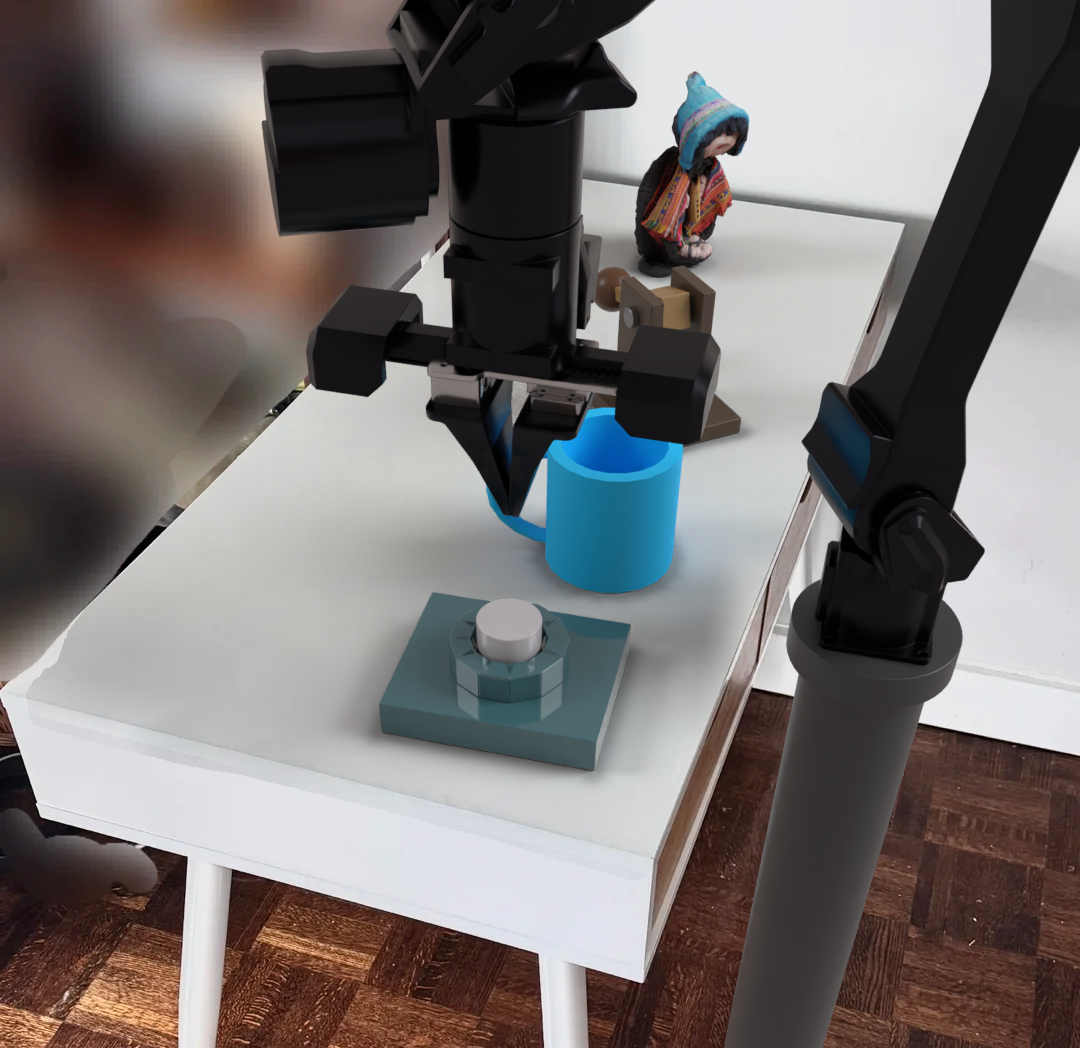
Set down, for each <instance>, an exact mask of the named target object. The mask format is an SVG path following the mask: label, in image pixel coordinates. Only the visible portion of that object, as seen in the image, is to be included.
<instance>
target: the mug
mask: <svg viewBox="0 0 1080 1048" xmlns="http://www.w3.org/2000/svg"><path fill="white" fill-rule="evenodd" d="M614 418H615V408H597V409H596V408H591V409H589V410H588V412H587V414H586V417H585V419H584V421H583V424H582V426H581V428H580V431H579V433H578V435H577V437H576V438H575V439H573V440H569V441H561V440H554V441H553V442H552V444H551V446H550V447H549V449H548V450H547V452H546V454H545V455H544V457H543V459H542V460H545V459H546V499H545V500H546V503H545V506H546V507H545V527H543V526H540V525H538V524H535V523H533V522H530V521H528V520H526V519H524V518H523V517H521V515H519V517H512V516H506V515H503V513H502V511H501V510H500V508H499V506H498V504H497V503H496V501H495V499H494V497H493V496H492V494H491V492H490V491H489V489H488V487H487V485H486V487H485V491H486V496H487V500H488V504H489V508H491V510H492V511H493V512H494V514H495V515H496V517H497V518H498V519H499V521H500V522H502V523H503V524H504V525H505V526H507V527H508V528H509V529H511V530H512V531H513V532H515V533H517V534H518V535H521V536H523V537H525V538H527V539H529V540H532V541H534V542H539V543H543V544H545V554H544V555H545V556H544V558H545V560H546V562H547V564H548V566H549V568H550V571H552V572H553V573H554V574H555V575H557V576H558V577H559V578H560V579H561V580H562V581H564V582H566V583H568V584H570V585H572V586H574V587H576V588H578V589H581V590H586V591H590V592H591V591H592V592H595V593H600V594H622V593H623V594H624V593H628V592H633V591H638V590H639V591H640V590H642V589H644V588H647V587H649V586H651V585H653V584H655V583H657V582H658V581H660V579H661V578H662V577H663V576H665V575H666V574H667V573H668V570H669V568H670V566H671V564H672V562H673V557H674V555H673V554H674V547H675V546H674V545H675V535H676V525H677V517H678V508H679V507H678V506H679V496H680V486H681V477H682V466H683V458H684V457H683V456H684V447H683V444H676V443H669V442H663V441H656V440H649V439H643V438H636V437H630V436H629V435H628V434H627V432H626V431H625V430H624V429H623V428H622V427H621V426H620V425H619V424H618V422H617V421H616V420H615V419H614Z"/></svg>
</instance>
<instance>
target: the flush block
mask: <svg viewBox="0 0 1080 1048" xmlns="http://www.w3.org/2000/svg"><path fill="white" fill-rule="evenodd" d="M492 601H493V600H486V599H478V598H474V597H466V596H461V595H454V594H448V593H443V592H435V591H432V592H431V594H430V596H429V598H428V600H427V601H426V605H425V606H424V608H423V611H422V613H421V615H420V617H419V619H418V621H417V623H416V625H415V627H414V630H413V632H412V633H411V636H410V637H409V639H408V641H407V644H406V646H405V648H404V650H403V653H402V654H401V657H400V659H399V661H398V663H397V664H396V667H395V669H394V671H393V672H392V675H391V678H390V680H389V682H388V684H387V686H386V687H385V690H384V692H383V694H382V697H381V699H380V701H379V703H378V708H379V718H380V729H381V730H380V731H381V733H382V734H383V733H384V734H390V735H395V736H400V737H404V738H405V737H406V738H412V739H417V740H421V741H422V740H423V741H427V742H428V741H429V742H433V743H438V744H439V743H440V744H444V745H449V746H455V747H460V748H466V749H471V750H477V751H483V752H489V753H494V754H500V755H504V756H510V757H516V758H521V759H527V760H532V761H537V762H538V761H539V762H543V763H548V764H549V763H550V764H554V765H555V764H556V765H560V766H565V767H571V768H576V769H582V770H589V771H592V772H593V771H596V767H597V764H598V762H599V761H598V760H599V756H600V755H601V750H602V747H603V743H604V740H605V737H606V733H607V729H608V727H609V722H610V719H611V716H612V713H613V709H614V705H615V702H616V698H617V695H618V692H619V689H620V685H621V681H622V678H623V675H624V671H625V668H626V664H627V662H628V658H629V654H630V649H631V648H630V647H631V634H632V624H631V623H627V622H620V621H615V620H607V619H602V618H596V617H590V616H584V615H578V614H572V613H565V612H559V611H553V610H548V609H547V608H545V607H544V606H542V605H540V604H538V603H531V602H530V603H531V604H532V605H534V606H535V607H536V608H537V609H538V610H539V611H540V613H541V615H542V646H541V649H540V651H539V652H538V653H537V654H536V656H534V657H533V658H531V659H530V660H528V661H524V662H518V663H513V664H506V663H500V662H494V661H491V660H489V659H487V658H485V657H484V656H483V655H482V654H481V653H480V651H479V650H478V648H477V641H476V616H477V614H478V612H479V610H480V609H481V608H482V607H483V606H484V605H486V604H488V603H489V602H492Z"/></svg>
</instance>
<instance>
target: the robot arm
mask: <svg viewBox="0 0 1080 1048" xmlns="http://www.w3.org/2000/svg"><path fill="white" fill-rule="evenodd" d="M654 2H656V0H402V2H401V3H400V5H399V7H398V8H397V10H396V12H395V13H394V15H393V17H392V18H391V20H390V22H389V23H388V25H387V26H386V29H385V37H386V40H387V41H388V44H389V45H390V48H377V49H375V48H374V49H362V50H361V49H359V50H358V49H357V50H343V51H326V52H325V51H324V52H312V51H306V50H303V49H297V48H284V49H283V48H281V49H280V48H279V49H268V50H267V49H266V50H264V51H263V52H262V54H261V55H260V63H261V73H262V79H263V85H262V88H263V91H262V92H263V103H264V114H265V120H264V119H263V121H262V123H261V131H263V132H262V139H263V147H264V155H265V161H266V169H267V176H268V183H269V190H270V196H271V202H272V208H273V213H274V220H275V224H276V231H277V234H278V237H279V238H281V237H291V236H302V235H303V236H305V235H315V234H327V233H339V232H352V231H362V230H363V231H364V230H365V231H366V230H375V229H376V230H377V229H388V228H399V227H412V226H414V225H415V223H416V220H417V219H416V218H421V217H428V216H429V210H430V199H436V198H438V196H439V191H440V155H439V143H438V129H437V128H438V127H437V121H445V127H446V160H447V161H446V162H447V163H446V164H447V188H448V189H447V194H448V195H447V197H448V198H447V199H448V229H449V231H448V232H449V233H448V234H449V246H448V248H447V249H446V250H445V252H444V253H443V255H442V266H443V267H442V268H443V279H446V280H447V279H448V280H450V293H451V327H450V326H443V325H442V326H441V325H435V324H428V323H424V309H423V308H424V307H423V306H424V305H423V304H424V303H423V301H422V300H421V299H420V297H419V296H418V294H417V293H412V292H406V291H398V290H391V289H383V288H377V287H369V286H361V285H354V284H350V285H348V286H347V287H346V288H345V289H344V291H342V292H341V293H340V294H339V295H338V296H337V297H336V299H335V300H334V302H333V303H332V304H331V305H330V307H329V308H328V309H327V310H326V311H325V313H324V314H323V315H322V316H321V318H320V319H319V321H318V322H317V323H316V325H314V327H313V328H312V329H311V331H310V332H309V334H308V340H307V343H306V348H305V356H306V366H307V374H308V381H309V383H310V384H311V386H312V387H313V388H314V389H315V390H317V391H325V392H330V393H337V394H343V395H350V396H357V397H364V398H369V397H370V396H371V395H372V394H374V393H375V392H376V391H377V390H378V389H379V388H381V387H382V386H383V385H384V383H385V382H386V380H387V379H388V378H387V376H388V375H387V363H388V362H389V363H393V364H403V365H409V366H416V367H423V368H426V375H427V377H429V378H430V394H431V396H430V398H429V399H428V401H427V403H426V405H425V415H426V418H427V419H428V420H430V421H432V422H436V423H441V424H442V425H444V426H445V427H446V428H447V429H448V431H449V432H450V434H451V435H452V436H453V437H454V439H455V440H456V442H457V443H458V445H460V447H461V448H462V450H463V451H464V452H465V454H466V455H467V457H468V458H469V459H470V460H471V462H472V463H473V466H474V467H475V468H476V470H477V472H478V473H479V475H480V477H481V478H482V480H483V482H484V483H485V485H486V486H487V487H488V489H489V491H490V492H491V494H492V496H493V497H494V499H495V501H496V503H497V504H498V506H499V508H500V510H501V511H502V513H503V515H506V516H512V517H519V516H521V513H522V511H523V509H524V507H525V504H526V501H527V499H528V496H529V493H530V492H531V489H532V485H533V483H534V480H535V478H536V476H537V473H538V470H539V468H540V465H541V462H542V460H544V459H543V457H544V455H545V454H546V452H547V450H548V449H549V447H550V446H551V444H552V442H553V441H554V440H561V441H569V440H573V439H575V438H576V437H577V435H578V433H579V431H580V428H581V426H582V424H583V421H584V419H585V417H586V414H587V412H588V410H590V407H591V405H592V400H593V398H594V396H595V393H599V394H606V395H612V396H616V403H615V418H614V419H615V420H616V421H617V422H618V424H619V425H620V426H621V427H622V428H623V429H624V430H625V431H626V432H627V434H628V435H629V436H630V437H636V438H643V439H649V440H656V441H663V442H669V443H676V444H683V445H688V444H691V443H694V442H697V441H700V440H701V437H702V434H703V431H704V427H705V424H706V421H707V417H708V414H709V411H710V407H711V404H712V401H713V398H714V394H716V392H717V387H718V384H719V383H718V382H719V374H720V366H721V359H722V349H721V347H720V345H719V344H718V342H717V341H716V339H715V338H714V336H713V335H712V333H711V334H708V333H701V332H693V331H686V330H679V329H671V328H664V327H657V326H649V325H642V324H640V325H639V328H638V330H637V333H636V335H635V337H634V340H633V342H632V345H631V347H630V350H629V352H623V351H617V350H615V349H608V348H601V347H600V342H599V341H597V340H594V339H593V340H592V339H585V338H578V337H577V330H581V331H582V330H583V331H584V330H586V328H587V327H588V324H589V322H590V320H591V313H592V312H591V311H592V304H595V296H596V288H597V279H598V273H599V271H600V270H599V269H600V261H601V251H602V242H603V237H602V236H600V235H596V234H591V233H585V231H584V230H585V225H584V214H582V202H583V201H582V200H583V177H584V176H583V174H584V152H585V151H584V150H585V149H584V148H585V128H586V126H585V125H586V112H589V111H602V110H615V109H616V110H617V109H628V108H631V107H633V106H634V105H635V104H636V102H637V100H638V92H637V90H636V89H635V87H633V85H632V84H631V83H630V81H629V80H628V79H627V77H625V76H624V73H622V72H621V70H620V69H619V68H618V67H617V65H616V64H615V63H614V62H613V61H612V60H610V59H609V57H608V55H607V53H606V50H605V48H604V46H603V44H602V43H601V42H600V41H599V40H600V39H602V38H604V37H605V36H607V35H609V34H611V33H613V32H615V31H617V30H619V29H621V28H623V27H625V26H627V25H628V24H630V23H631V22H633V20H635V19H636V18H637V17H638V16H640V15H641V14H642V13H643V12H644V11H646V10H647V8H648V7H650V6H651V5H652V4H653V3H654ZM1079 151H1080V0H990V73H989V78H988V81H987V85H986V88H985V91H984V93H983V96H982V99H981V101H980V104H979V106H978V109H977V111H976V113H975V116H974V119H973V121H972V123H971V126H970V129H969V131H968V134H967V135H966V139H965V141H964V144H963V147H962V149H961V150H960V154H959V157H958V159H957V161H956V163H955V166H954V169H953V172H952V174H951V177H950V179H949V182H948V185H947V187H946V190H945V192H944V195H943V197H942V199H941V202H940V205H939V208H938V210H937V212H936V214H935V217H934V220H933V222H932V224H931V227H930V230H929V232H928V235H927V237H926V239H925V242H924V245H923V248H922V250H921V252H920V255H919V258H918V260H917V263H916V264H915V268H914V270H913V273H912V275H911V278H910V280H909V282H908V286H907V288H906V291H905V292H904V296H903V298H902V301H901V303H900V306H899V308H898V310H897V313H896V316H895V318H894V320H893V323H892V326H891V327H890V331H889V333H888V336H887V339H886V341H885V344H884V346H883V349H882V351H881V354H880V356H879V357H878V360H877V361H876V363H875V364H874V365H873V367H871V368H870V369H869V370H867V371H866V372H864V374H863V375H861V376H860V377H859V378H858V379H856V380H855V381H854V382H853V383H851V384H850V385H845V384H842V383H838V382H835V381H830V382H827V384H826V385H825V387H824V389H823V390H822V394H821V398H820V401H819V402H820V403H819V408H818V412H817V416H816V418H815V419H814V422H813V424H812V426H811V428H810V429H809V431H807V433H806V434H805V435H804V437H803V438H802V440H801V444H802V446H803V447H804V449H805V450H806V451H807V453H808V455H807V460H806V467H807V471H808V473H809V476H810V478H811V480H812V481H813V483H814V485H815V486H816V487H817V489H818V491H819V492H820V494H821V495H822V496H823V498H824V499H825V501H826V502H827V504H828V505H829V507H830V508H831V510H832V511H833V512H834V514H835V515H836V517H837V519H838V520H839V522H840V523H841V524H842V525H841V530H840V534H839V540H830V541H829V542H828V543H827V547H826V551H825V556H824V561H823V566H822V571H821V577H820V579H821V581H820V586H819V591H818V596H817V603H816V610H815V618H816V620H817V621H821V629H820V636H819V646H820V647H821V648H822V649H825V650H830V651H836V652H842V653H849V654H855V655H861V656H867V657H873V658H879V659H886V660H892V661H898V662H904V663H910V664H916V665H928V664H929V663H930V661H931V658H932V645H933V630H934V627H935V623H936V620H937V616H938V613H939V609H940V606H941V602H942V600H944V599H943V598H944V595H945V591H946V589H947V585H948V584H949V583H957V582H964V581H966V580H967V579H969V577H970V575H971V574H972V572H973V571H974V569H976V566H977V565H978V563H979V562H980V561H981V559H982V558H983V557H984V555H985V552H986V549H985V547H984V546H983V545H982V543H981V542H980V541H979V539H977V536H975V535H974V533H973V532H972V531H971V530H970V528H969V527H968V526H967V525H966V523H965V522H964V521H963V520H962V518H961V517H960V516H959V515H958V513H957V512H956V511H955V509H954V508H955V505H956V501H957V499H958V495H959V491H960V488H961V484H962V482H963V478H964V473H965V471H966V467H967V403H968V397H969V395H970V392H971V390H972V388H973V385H974V383H975V381H976V379H977V377H978V375H979V372H980V370H981V368H982V365H983V364H984V361H985V359H986V357H987V354H988V353H989V350H990V348H991V346H992V344H993V341H994V339H995V337H996V335H997V332H998V330H999V328H1000V326H1001V324H1002V322H1003V320H1004V317H1005V315H1006V312H1007V310H1008V308H1009V306H1010V304H1011V302H1012V300H1013V298H1014V295H1015V293H1016V290H1017V288H1018V286H1019V283H1020V282H1021V279H1022V278H1023V275H1024V273H1025V270H1026V268H1027V266H1028V265H1029V262H1030V259H1031V258H1032V255H1033V253H1034V251H1035V248H1036V247H1037V244H1038V242H1039V239H1040V237H1041V235H1042V234H1043V231H1044V228H1045V226H1046V224H1047V221H1048V220H1049V217H1050V215H1051V213H1052V211H1053V209H1054V206H1055V204H1056V202H1057V199H1058V198H1059V195H1060V193H1061V191H1062V189H1063V187H1064V184H1065V182H1066V180H1067V177H1068V175H1069V173H1070V171H1071V169H1072V167H1073V165H1074V163H1075V160H1076V158H1077V156H1078V153H1079ZM386 362H387V363H386ZM514 382H516V383H523V384H526V393H527V394H528V395H527V397H526V399H525V401H524V403H523V405H522V407H521V409H520V411H519V413H518V415H517V417H516V418H515V421H513V410H512V407H513V406H512V401H513V390H514V389H513V387H514ZM688 446H689V445H688ZM923 657H924V658H923Z"/></svg>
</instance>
